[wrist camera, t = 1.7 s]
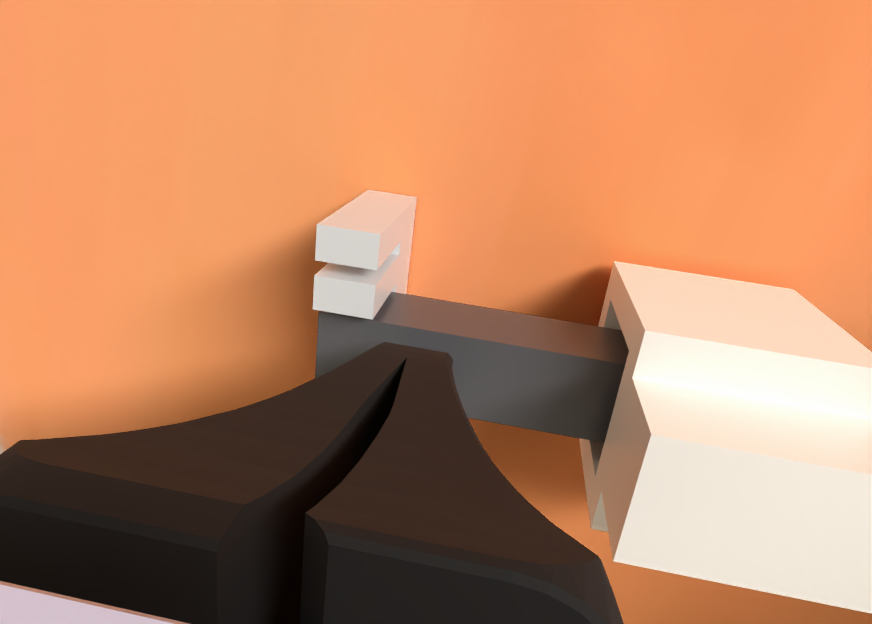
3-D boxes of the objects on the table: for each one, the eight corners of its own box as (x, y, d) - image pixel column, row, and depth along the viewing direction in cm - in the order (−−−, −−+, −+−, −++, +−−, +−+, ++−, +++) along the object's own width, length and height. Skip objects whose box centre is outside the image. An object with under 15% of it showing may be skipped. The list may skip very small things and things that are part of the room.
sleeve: (792, 289, 14) (972, 432, 8) (736, 445, 15) (854, 656, 10) (613, 260, 14) (667, 379, 8) (576, 416, 16) (600, 602, 10)
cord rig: (1234, 320, 13) (1525, 421, 9) (1095, 527, 15) (1286, 679, 11) (368, 189, 15) (311, 227, 11) (352, 391, 17) (299, 482, 13)
